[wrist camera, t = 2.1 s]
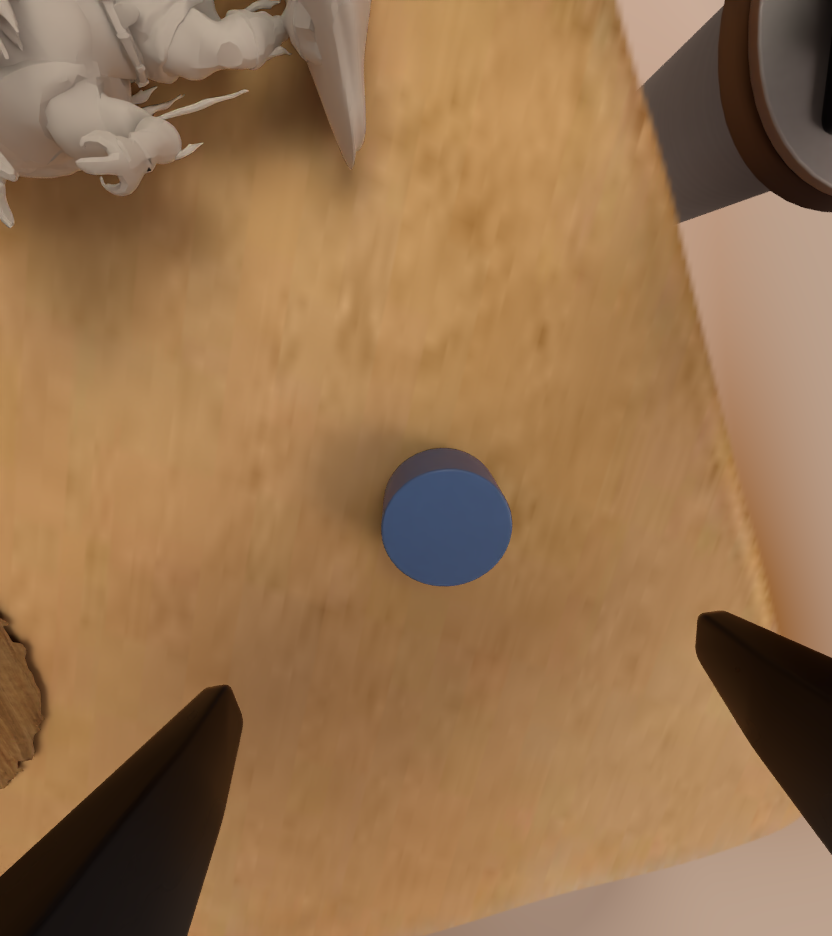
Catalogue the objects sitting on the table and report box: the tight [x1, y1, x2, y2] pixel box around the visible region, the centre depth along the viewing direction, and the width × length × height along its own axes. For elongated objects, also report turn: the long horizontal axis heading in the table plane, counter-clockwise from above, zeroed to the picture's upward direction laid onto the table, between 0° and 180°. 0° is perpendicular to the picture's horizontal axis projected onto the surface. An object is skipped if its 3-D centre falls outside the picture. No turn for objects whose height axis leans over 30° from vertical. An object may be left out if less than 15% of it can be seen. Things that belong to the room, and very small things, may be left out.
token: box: [381, 448, 512, 586], centre depth 15 cm, size 4×4×2 cm
